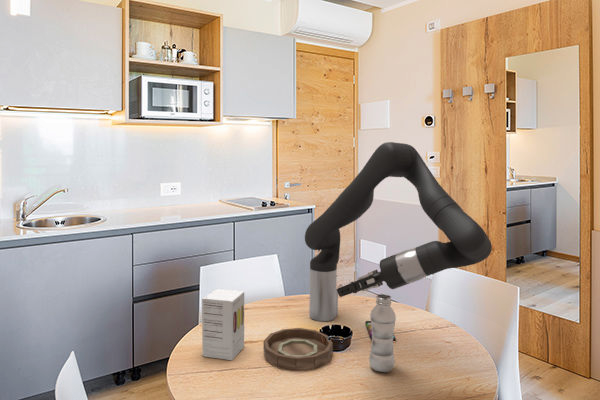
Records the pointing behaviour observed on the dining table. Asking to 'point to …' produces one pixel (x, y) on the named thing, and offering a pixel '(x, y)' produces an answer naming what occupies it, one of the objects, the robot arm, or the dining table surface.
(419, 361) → the dining table surface
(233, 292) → the supplement box
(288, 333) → the walnut tray
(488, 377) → the dining table surface
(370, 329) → the smartphone
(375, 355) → the plastic bottle
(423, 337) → the dining table surface
